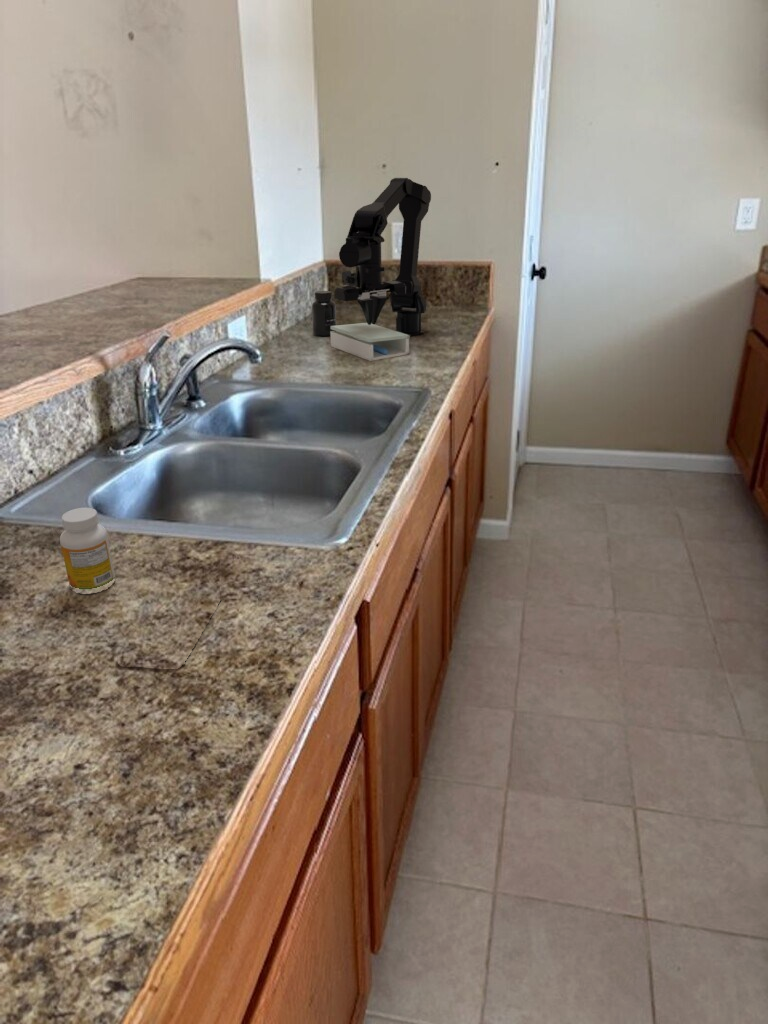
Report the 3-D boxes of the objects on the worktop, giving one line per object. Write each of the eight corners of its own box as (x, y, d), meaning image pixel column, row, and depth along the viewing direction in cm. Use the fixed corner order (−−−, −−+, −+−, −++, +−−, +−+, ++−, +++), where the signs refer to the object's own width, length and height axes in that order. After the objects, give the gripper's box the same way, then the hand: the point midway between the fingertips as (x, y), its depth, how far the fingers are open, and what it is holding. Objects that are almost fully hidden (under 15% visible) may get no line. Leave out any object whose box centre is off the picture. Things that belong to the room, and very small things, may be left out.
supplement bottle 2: (333, 337, 218) (331, 294, 213) (310, 336, 220) (307, 293, 214) (339, 332, 224) (337, 290, 219) (316, 331, 226) (314, 289, 221)
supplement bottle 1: (77, 575, 98) (62, 505, 93) (120, 572, 98) (107, 503, 94) (65, 597, 93) (48, 525, 89) (110, 594, 93) (96, 523, 89)
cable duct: (368, 340, 214) (367, 325, 213) (409, 354, 199) (409, 338, 197) (330, 346, 208) (330, 331, 207) (370, 361, 193) (369, 345, 192)
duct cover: (369, 325, 213) (369, 322, 212) (409, 338, 198) (410, 334, 197) (330, 329, 206) (330, 326, 206) (369, 342, 191) (369, 339, 191)
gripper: (383, 256, 205) (384, 315, 212) (322, 262, 196) (325, 323, 203) (407, 260, 197) (407, 321, 204) (344, 267, 188) (346, 330, 194)
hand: (371, 324), depth 201 cm, fingers closed
